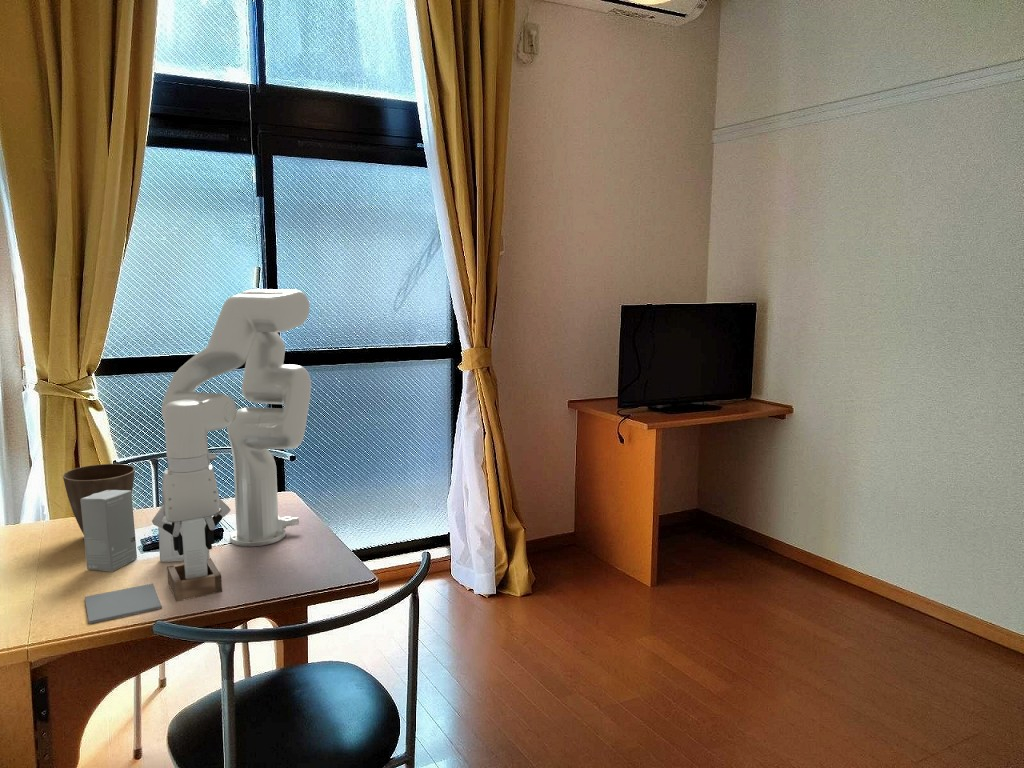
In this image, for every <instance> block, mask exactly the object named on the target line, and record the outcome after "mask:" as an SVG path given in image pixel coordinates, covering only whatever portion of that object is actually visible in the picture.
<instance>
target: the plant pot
mask: <svg viewBox="0 0 1024 768" xmlns="http://www.w3.org/2000/svg"><path fill="white" fill-rule="evenodd" d="M135 473H136V468H135V467H134V466H133V465H130V464H125V463H102V464H93V465H86V466H82V467H75V468H73V469H70V470H68V471H65V472H64V473H63V474H62V479H63V483H64V487H65V491H66V495H67V499H68V502H69V505H70V508H71V511H72V512H73V515H74V518H75V520H76V523H77V524H78V527H79V528H80V531H81V533H82V534H83V536H84V532H83V522H82V511H81V502H80V499H81V498H84V497H87V496H90V495H92V494H95V493H99V492H103V491H106V490H131V493H132V494H133V489H134V482H135Z"/></svg>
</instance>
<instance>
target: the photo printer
mask: <svg viewBox="0 0 1024 768" xmlns="http://www.w3.org/2000/svg"><path fill="white" fill-rule="evenodd" d="M162 520H163V521H165V522H168V521H167V520H166V516H164V518H163V519H162ZM168 523H169V524H171V525H172V522H168ZM205 526H206V521H205V519H204V528H205ZM157 527H158V526H157ZM180 533H181V535H182V527H181V528H180ZM158 543H159V544H158V547H159V549H158V551H159V560H160V562H161V563H165V562H182V561H183V562H184V556H183V555H179V553H178V551H175V550H174V544H173V535H172V534H170V533H168V532H167V531H165V530H164V529H162V528H160V527H158ZM210 554H211V553H210V550H209V549H207V547H206V556H207V559H208V558H210V556H211V555H210Z"/></svg>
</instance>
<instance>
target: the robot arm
mask: <svg viewBox="0 0 1024 768" xmlns="http://www.w3.org/2000/svg"><path fill="white" fill-rule="evenodd" d="M310 309H311V308H310V301H309V299H308V297H307V295H306V294H305V293H304V292H303V291H302V290H298V289H273V288H269V289H267V288H261V289H260V288H256V289H255V288H254V289H249V290H244V291H242V292H240V293H239V294H235V295H232V296H229V297H228V298H227V299H226V300H225V302H224V304H223V305H222V307H221V310H220V313H219V314H218V315H219V316H218V318H217V321H216V323H215V326H214V328H213V330H212V334H211V335H210V337H209V341H208V343H207V345H206V347H205V348H203V349H202V350H201V351H199V352H198V353H197V354H196V353H195V355H193V356H192V357H191V358H189V359H188V360H187V361H186V362H184V364H183V365H181V366H180V367H179V368H177V369H178V370H176V372H174V374H173V376H172V377H171V379H170V382H169V383H168V384H169V385H168V386H167V388H166V391H165V394H164V397H163V400H162V405H161V416H162V419H163V422H164V423H163V424H164V437H165V439H164V440H165V449H166V450H165V451H166V452H165V453H166V463H167V469H165V470H163V472H162V473H163V474H162V479H161V482H162V483H161V504H162V505H161V507H160V508H159V509H158V511H157V512H156V514H155V516H154V517H153V519H152V520H151V522H152V524H153V525H154V526H156V527H160V528H162V529H164V530H165V531H167V532H168V533H170V534H172V535H173V544H174V550H175V551H178V553H179V555H183V540H182V535H181V533H180V528H181V523H182V521H185V520H191V519H196V518H202V517H203V518H204V519H205V521H206V526H205V542H206V547H207V549H209V551H210V550H212V549H213V545H212V544H215V533H214V531H215V529H216V526H218V524H220V522H221V521H222V520H223V519H224V518H225V517H226V516H227V515H228V514H230V512H231V508H230V506H228V505H227V504H226V502H225V501H223V500H222V499H221V498H220V497H219V491H218V484H217V479H216V475H215V470H214V467H213V465H212V464H211V463H212V462H213V461H216V460H217V453H211V452H209V443H208V441H209V440H208V433H209V432H214V431H215V432H216V431H220V430H224V429H226V433H227V437H228V440H229V443H230V444H229V445H230V449H231V453H232V461H233V478H234V484H233V485H234V500H235V502H234V503H235V525H236V529H235V530H233V531H232V532H231V533H230V534H229V541H230V542H231V543H232V544H233V545H236V546H241V547H260V546H267V545H270V544H271V545H272V544H275V543H276V542H279V541H281V540H283V539H284V538H285V537H286V535H287V534H286V528H287V527H293V526H299V523H300V521H299V517H298V516H295V517H291V516H290V515H289V516H283V517H281V516H280V515H279V506H278V505H279V504H278V503H279V502H278V501H279V500H278V499H279V498H278V478H277V477H278V476H277V474H278V473H277V465H276V460H275V458H274V456H273V454H272V453H271V451H270V450H294V449H297V448H298V447H299V446H300V445H301V444H302V442H303V440H304V437H305V432H306V427H307V421H308V413H309V408H310V407H309V406H310V402H311V395H312V394H311V393H312V380H311V376H310V373H309V371H308V370H307V369H306V368H305V367H304V366H302V365H298V364H285V363H284V361H285V353H286V345H285V343H284V341H283V339H282V337H281V336H280V334H279V333H283V332H286V331H290V330H293V329H294V328H297V327H300V326H302V325H303V324H304V323H305V322H306V321H307V319H308V318H309V315H310ZM242 366H244V371H243V378H242V383H241V393H242V397H243V398H244V399H245V400H246V401H248V402H251V403H254V404H264V405H265V404H268V405H269V404H270V405H284V406H283V408H279V407H278V408H277V407H276V408H275V407H260V406H259V407H252V406H250V407H249V406H248V407H242V408H241V407H240V408H239V409H237V404H236V402H235V400H234V399H233V398H232V397H231V396H229V395H227V394H224V393H218V392H217V393H216V392H202V391H201V392H198V391H196V390H197V389H198V388H199V387H200V386H201V385H202V384H203V383H205V382H207V381H209V380H211V379H213V378H215V377H218V376H221V375H223V374H227V373H229V372H231V371H234V370H237V369H238V368H240V367H242ZM195 391H196V392H195ZM164 516H166V520H167V521H168V522H172V525H171V524H169V523H168V522H165V521H163V520H162V519H163V518H164Z"/></svg>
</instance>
